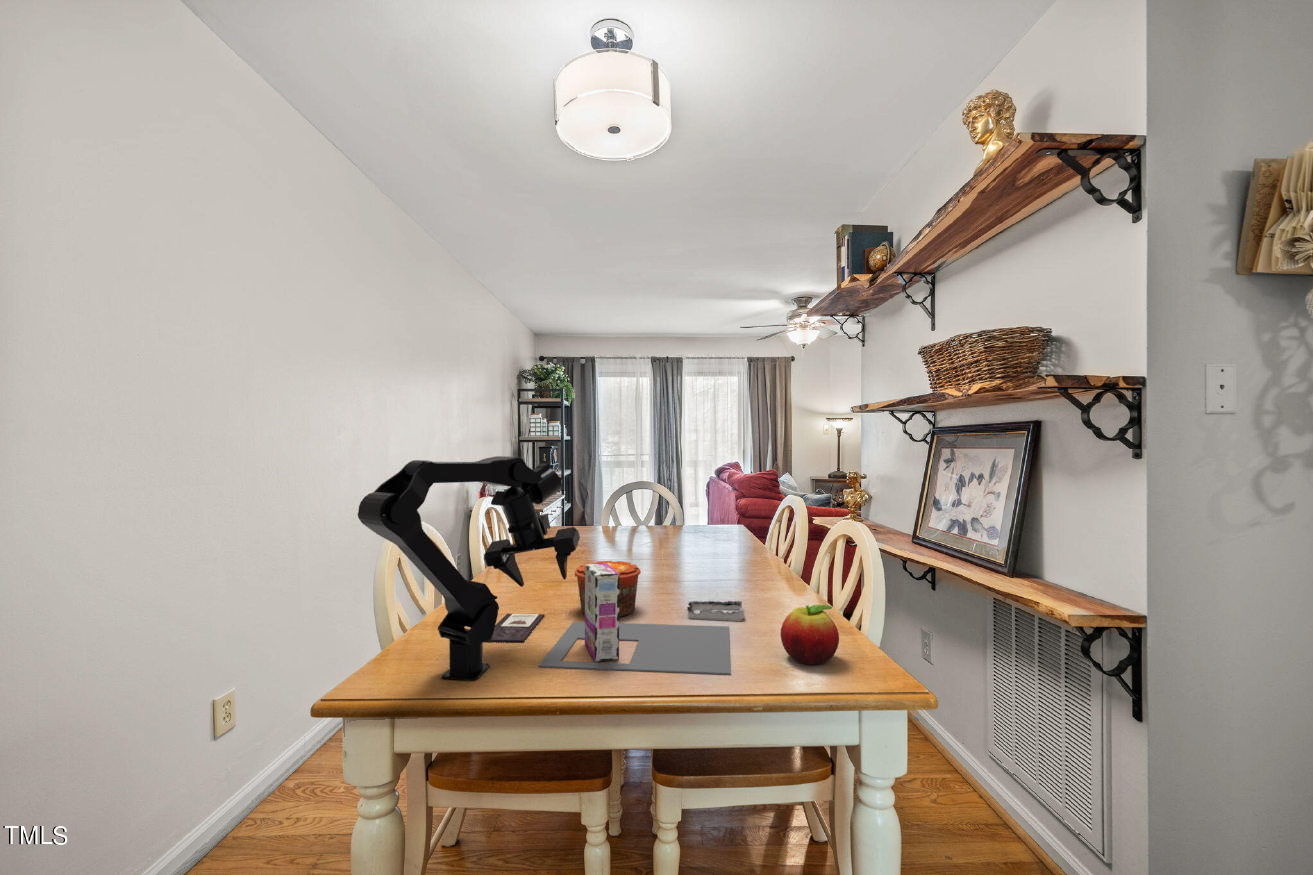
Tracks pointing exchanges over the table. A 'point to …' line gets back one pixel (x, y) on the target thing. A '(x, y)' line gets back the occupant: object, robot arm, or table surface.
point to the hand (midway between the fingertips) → (543, 582)
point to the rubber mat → (656, 649)
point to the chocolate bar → (515, 628)
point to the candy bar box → (602, 612)
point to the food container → (625, 586)
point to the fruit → (810, 635)
